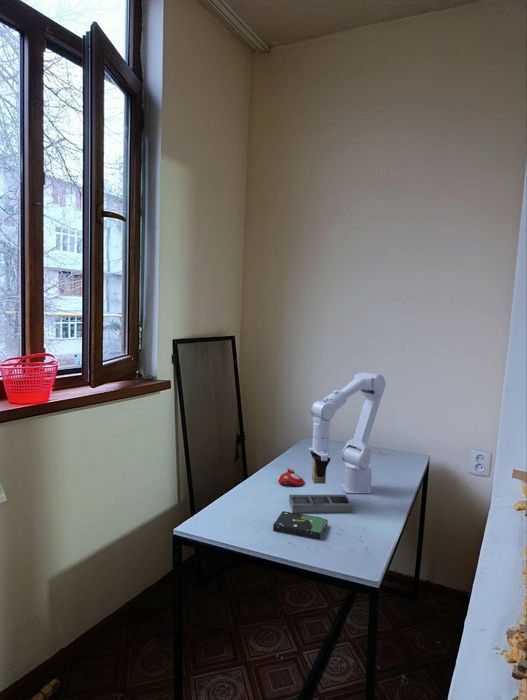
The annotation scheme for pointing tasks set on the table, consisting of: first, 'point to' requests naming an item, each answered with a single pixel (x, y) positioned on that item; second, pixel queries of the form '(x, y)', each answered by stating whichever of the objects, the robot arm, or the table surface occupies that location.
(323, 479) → the walnut peg
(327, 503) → the rail
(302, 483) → the tracker holder
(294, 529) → the disk drive
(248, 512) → the table surface
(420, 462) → the table surface
